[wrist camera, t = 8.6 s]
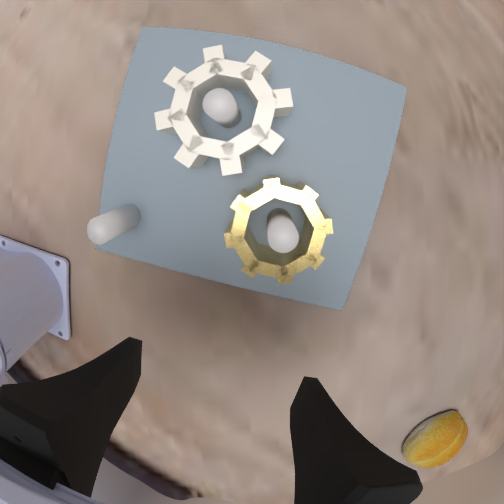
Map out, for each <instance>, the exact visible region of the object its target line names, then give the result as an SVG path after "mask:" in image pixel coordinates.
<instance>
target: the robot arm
mask: <svg viewBox="0 0 504 504" xmlns="http://www.w3.org/2000/svg"><path fill="white" fill-rule="evenodd" d="M58 261H59V263H60V265H59V264H58ZM47 332H49V333H51V334H53V335H56V336H58V337H60V338H62V339H65V340H69V339H70V337H71V330H70V312H69V263H68V261H67V259H65V258H63V257H60V256H57V255H54V254H51V253H48V252H45V251H42V250H39V249H37V248H34V247H31V246H28V245H25V244H23V243H20V242H17V241H14V240H12V239H9V238H6V237H4V236H1V235H0V504H104V503H102V502H99V501H97V500H95V499H92V498H91V494H92V490H93V487H94V483H95V480H96V476H97V473H98V469H99V466H100V463H101V461H102V458H103V455H104V452H105V449H106V447H107V444H108V441H109V439H110V436H111V434H112V432H113V430H114V428H115V426H116V424H117V422H118V420H119V419H120V417H121V415H122V413H123V411H124V410H125V408H126V406H127V404H128V402H129V401H130V399H131V397H132V395H133V393H134V391H135V388H136V386H137V383H138V381H139V378H140V375H141V353H142V341H141V340H138V339H135V338H131V337H128V338H127V339H125V340H124V341H122V342H121V343H119V344H118V345H116V346H115V347H113V348H111V349H110V350H108V351H107V352H105V353H104V354H102V355H100V356H99V357H97V358H95V359H94V360H92V361H90V362H88V363H86V364H84V365H82V366H80V367H78V368H76V369H74V370H71V371H69V372H66V373H63V374H61V375H57V376H54V377H51V378H47V379H43V380H39V381H34V382H28V383H19V384H7V383H8V381H7V379H6V375H5V373H6V372H7V370H8V369H9V368H10V367H11V366H12V365H13V364H14V363H15V362H16V361H17V360H18V359H19V358H20V357H21V356H23V355H24V354H25V353H26V352H27V351H28V350H29V349H30V348H31V347H32V346H33V345H34V344H35V343H36V342H37V341H38V340H39V339H40V338H41V337H42V336H43V335H44V334H45V333H47ZM61 332H62V333H61ZM290 431H291V440H292V448H293V456H294V464H295V499H294V504H410V503H411V502H412V501H414V500H415V499H416V498H417V497H418V496H419V495H420V493H421V491H422V489H423V486H422V484H421V481H420V478H419V476H418V473H417V471H415V470H413V469H411V468H409V467H407V466H405V465H403V464H401V463H399V462H397V461H396V460H394V459H393V458H391V457H389V456H388V455H386V454H385V453H383V452H382V451H381V450H379V449H378V448H377V447H375V446H374V445H373V444H372V443H370V442H369V441H368V440H367V439H366V438H365V437H364V436H363V435H362V434H361V433H359V432H358V431H357V430H356V429H355V428H354V426H353V425H352V424H351V423H350V422H349V421H348V420H347V418H346V417H345V416H344V415H343V414H342V412H341V411H340V410H339V409H338V407H337V406H336V405H335V403H334V402H333V400H332V399H331V398H330V396H329V395H328V393H327V392H326V390H325V389H324V387H323V386H322V384H321V383H320V382H319V380H318V379H317V378H312V377H305V376H304V378H303V380H302V383H301V385H300V387H299V389H298V392H297V394H296V396H295V399H294V401H293V403H292V405H291V407H290Z"/></svg>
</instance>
